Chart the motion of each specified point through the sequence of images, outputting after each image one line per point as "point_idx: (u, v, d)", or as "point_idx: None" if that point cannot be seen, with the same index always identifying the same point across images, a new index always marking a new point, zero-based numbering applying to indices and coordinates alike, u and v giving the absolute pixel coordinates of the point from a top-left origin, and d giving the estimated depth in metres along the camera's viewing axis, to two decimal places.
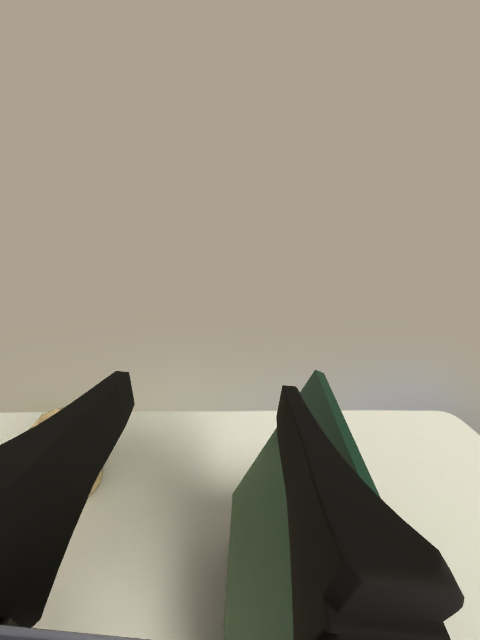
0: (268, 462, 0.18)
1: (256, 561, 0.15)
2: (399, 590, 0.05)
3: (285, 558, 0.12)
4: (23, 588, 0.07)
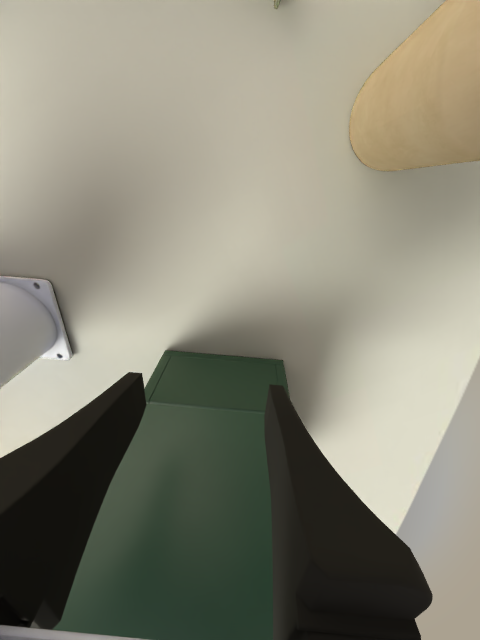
0: (269, 552, 0.12)
1: (185, 489, 0.14)
2: (366, 587, 0.05)
3: (146, 570, 0.12)
4: (45, 590, 0.07)
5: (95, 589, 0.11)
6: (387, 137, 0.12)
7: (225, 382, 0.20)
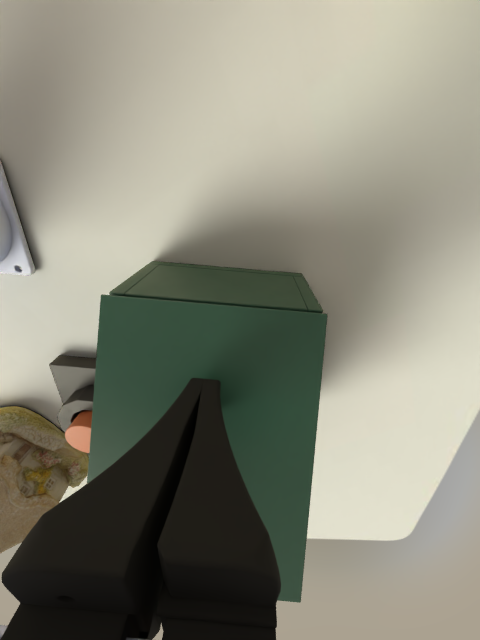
0: (277, 452, 0.12)
1: None
2: (207, 572, 0.05)
3: None
4: (155, 601, 0.07)
5: None
6: None
7: (229, 284, 0.15)
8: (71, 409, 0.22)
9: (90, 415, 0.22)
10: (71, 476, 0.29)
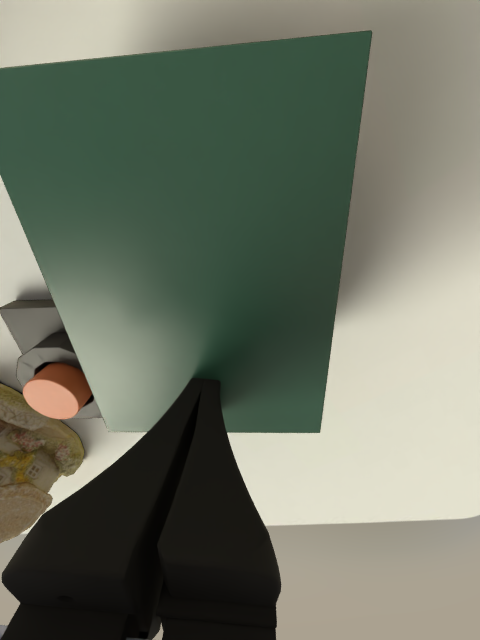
0: (289, 297, 0.09)
1: (154, 241, 0.09)
2: (207, 572, 0.05)
3: (144, 325, 0.10)
4: (155, 601, 0.07)
5: (101, 342, 0.11)
6: None
7: None
8: (30, 362, 0.17)
9: (53, 367, 0.16)
10: (60, 461, 0.24)
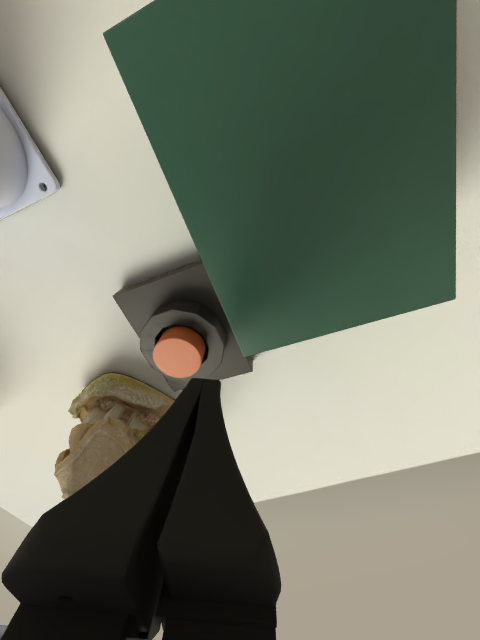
0: (404, 145, 0.10)
1: (270, 130, 0.10)
2: (207, 571, 0.05)
3: (267, 226, 0.11)
4: (155, 601, 0.07)
5: (230, 258, 0.12)
6: None
7: None
8: (150, 332, 0.19)
9: (171, 330, 0.18)
10: None
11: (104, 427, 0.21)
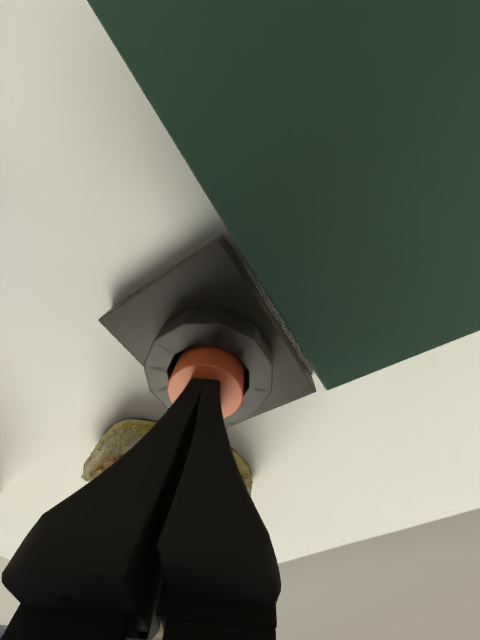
0: None
1: None
2: (207, 572, 0.05)
3: (367, 63, 0.04)
4: (155, 601, 0.07)
5: (277, 182, 0.05)
6: None
7: None
8: (158, 364, 0.12)
9: (189, 353, 0.12)
10: None
11: None
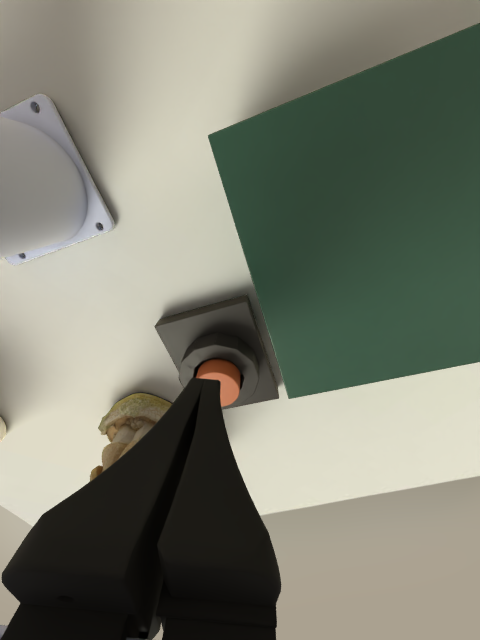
0: (458, 238, 0.11)
1: (343, 220, 0.11)
2: (208, 572, 0.05)
3: (328, 294, 0.13)
4: (155, 601, 0.07)
5: (291, 317, 0.13)
6: None
7: None
8: (191, 364, 0.20)
9: (211, 363, 0.20)
10: None
11: None
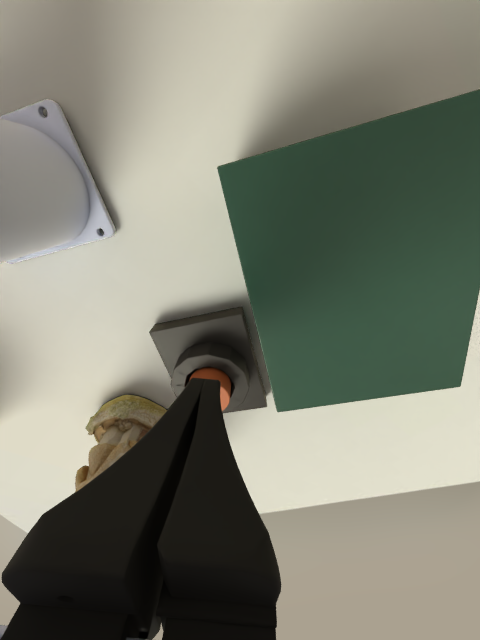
0: (442, 277, 0.12)
1: (339, 253, 0.12)
2: (207, 572, 0.05)
3: (321, 319, 0.13)
4: (155, 601, 0.07)
5: (284, 338, 0.14)
6: None
7: None
8: (183, 371, 0.21)
9: (204, 372, 0.20)
10: None
11: (125, 450, 0.23)
